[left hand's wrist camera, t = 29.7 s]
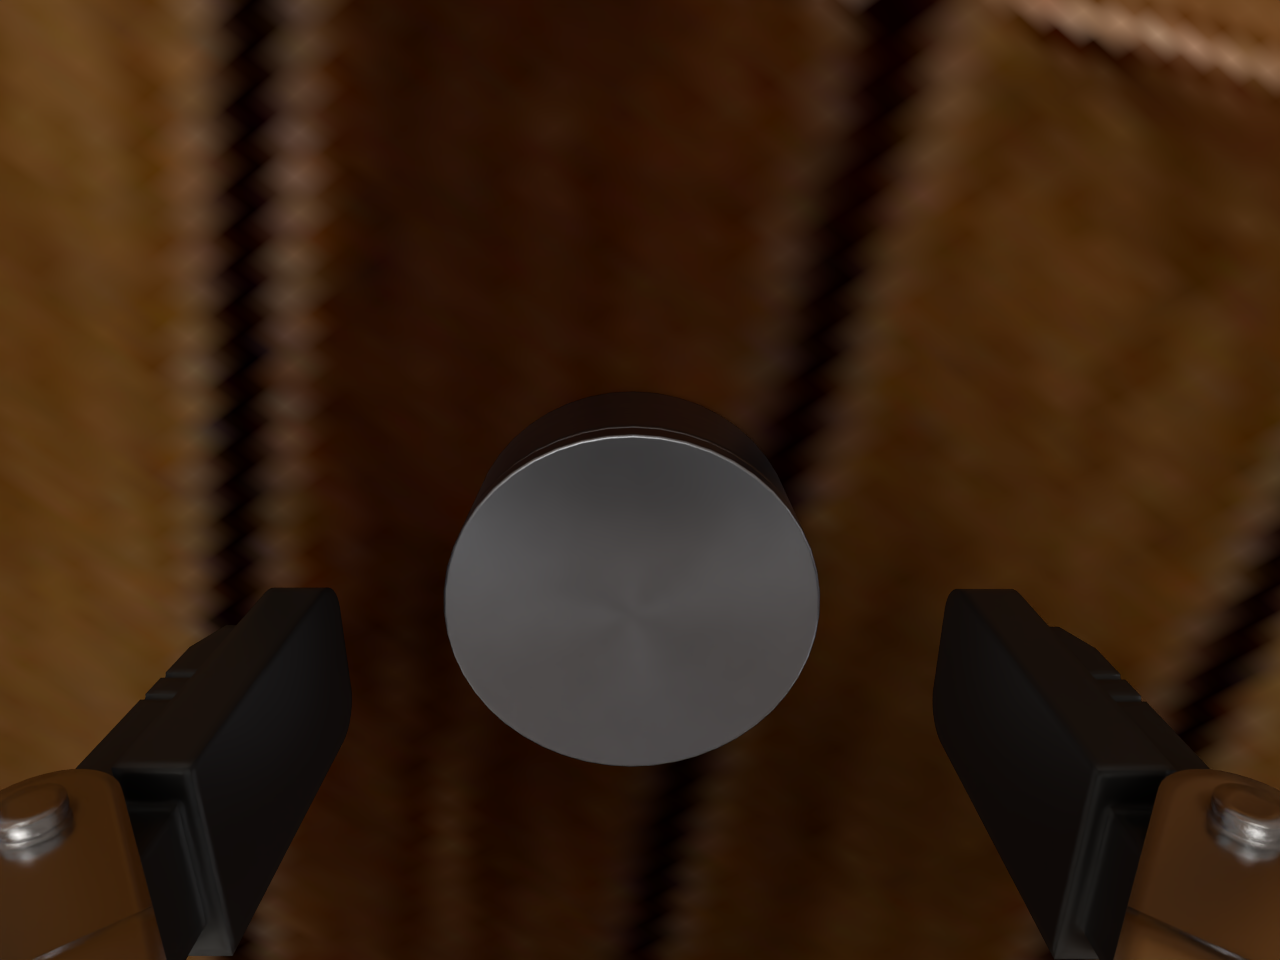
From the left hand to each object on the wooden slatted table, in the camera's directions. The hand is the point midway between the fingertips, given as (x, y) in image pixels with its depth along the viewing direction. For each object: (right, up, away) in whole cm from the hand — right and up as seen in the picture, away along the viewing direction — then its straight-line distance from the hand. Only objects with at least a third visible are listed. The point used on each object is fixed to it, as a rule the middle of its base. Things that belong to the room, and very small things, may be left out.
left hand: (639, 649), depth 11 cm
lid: (0, +1, +1) cm, 1 cm away
